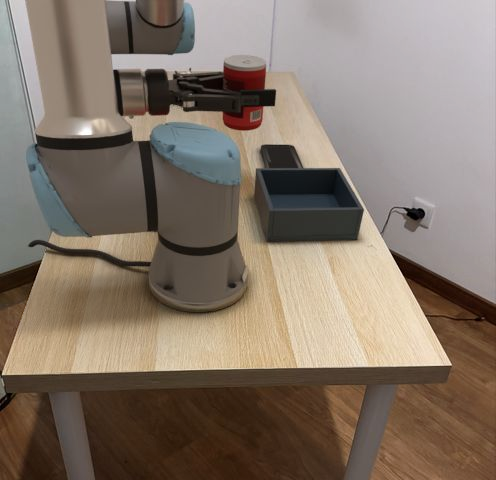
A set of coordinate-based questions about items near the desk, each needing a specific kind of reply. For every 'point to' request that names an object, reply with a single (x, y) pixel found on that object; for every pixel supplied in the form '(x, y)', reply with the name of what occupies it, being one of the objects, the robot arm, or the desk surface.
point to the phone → (280, 156)
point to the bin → (306, 204)
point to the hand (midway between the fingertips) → (268, 90)
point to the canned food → (244, 78)
